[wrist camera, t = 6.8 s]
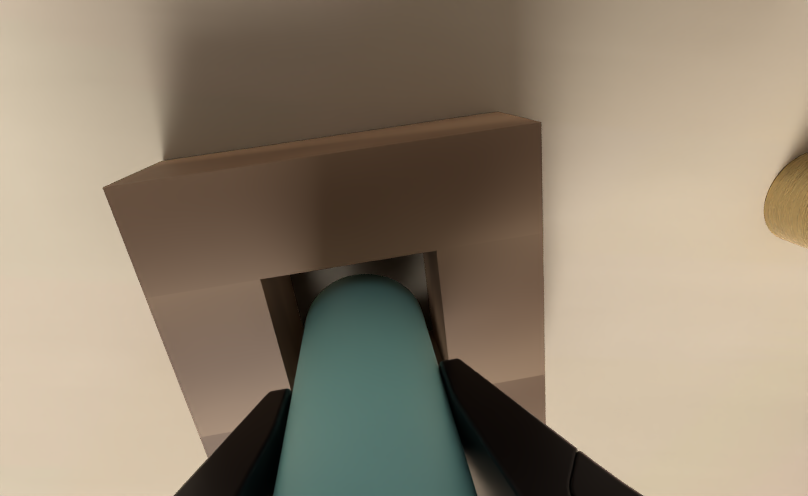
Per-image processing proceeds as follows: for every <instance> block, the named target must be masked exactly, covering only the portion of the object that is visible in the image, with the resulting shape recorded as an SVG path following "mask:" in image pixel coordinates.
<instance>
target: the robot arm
mask: <svg viewBox="0 0 808 496" xmlns="http://www.w3.org/2000/svg"><path fill="white" fill-rule="evenodd" d="M439 369H440V373H441V377H442V380H443V383H444V387H445V390H446V393H447V397H448V400H449V403H450V407H451V410H452V413H453V416H454V420H455V423H456V426H457V429H458V433H459V436H460V439H461V443H462V446H463V449H464V452H465V456H466V459H467V462H468V466H469V469H470V472H471V476H472V479H473V482H474V486H475V489H476V492H477V496H643V495H641V494H640V493H638V492H637V491H635V490H634V489H632V488H631V487H629V486H628V485H626V484H625V483H623V482H622V481H621V480H619V479H618V478H616V477H615V476H614V475H612V474H611V473H609V472H608V471H607V470H605V469H604V468H603V467H601V466H600V465H598V464H597V463H596V462H594V461H593V460H592V459H590V458H589V457H588V456H587V455H585V454H584V453H583V452H581V451H578V450H577V448H576V447H574V446H573V445H572V444H571V443H569V442H568V441H567V440H565V439H564V438H563V437H561V436H560V435H559V434H557V433H556V432H555V431H554V430H552V429H551V428H550V427H548V426H547V425H546V424H544V423H543V422H542V421H540V420H539V419H538V418H536V417H535V416H534V415H533V414H531V413H530V412H529V411H527V410H526V409H525V408H523V407H522V406H521V405H519V404H518V403H517V402H516V401H514V400H513V399H512V398H510V397H509V396H508V395H506V394H505V393H504V392H502V391H501V390H500V389H499V388H497V387H496V386H495V385H493V384H492V383H491V382H489V381H488V380H487V379H485V378H484V377H483V376H482V375H480V374H479V373H478V372H476V371H475V370H474V369H472V368H471V367H470V366H468V365H467V364H466V363H464V362H463V361H462V360H460V359H458V358H455V359H450V360H444V361H441V362H440V364H439ZM291 397H292V391H291V390H290V389H288V388H285V389H280V390H274V391H270V392H269V393H267V394H266V396H265V397H264V398H263V399H262V400H261V401H260V402H259V403H258V404H257V405H256V406H255V407H254V409H253V410H252V411H251V412H250V413H249V414H248V415H247V416H246V417H245V418H244V419H243V421H242V422H241V423H240V424H239V425H238V426H237V427H236V428H235V429H234V430H233V431H232V433H231V434H230V435H229V436H228V437H227V438H226V439H225V440H224V441H223V442H222V443H221V445H220V446H219V447H218V448H217V449H216V450H215V451H214V452H213V453H212V454H211V455H210V457H209V458H208V459H207V460H206V461H205V462H204V463H203V464H202V465H201V466H200V467H199V469H198V470H197V471H196V472H195V473H194V474H193V475H192V476H191V477H190V478H189V479H188V481H187V482H186V483H185V484H184V485H183V486H182V487H181V488H180V489H179V490H178V491H177V493H176V494H175V495H174V496H273V494H274V488H275V483H276V478H277V472H278V467H279V462H280V456H281V451H282V446H283V440H284V435H285V430H286V424H287V419H288V413H289V408H290V403H291Z"/></svg>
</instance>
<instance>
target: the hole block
mask: <svg viewBox="0 0 808 496" xmlns="http://www.w3.org/2000/svg"><path fill="white" fill-rule="evenodd" d="M103 190H104V192H105V195H106V197H107V200H108V203H109V205H110V208H111V210H112V213H113V215H114V218H115V221H116V223H117V226H118V228H119V231H120V233H121V236H122V238H123V241H124V244H125V246H126V249H127V251H128V254H129V256H130V259H131V262H132V264H133V267H134V269H135V272H136V274H137V277H138V280H139V282H140V285H141V287H142V290H143V292H144V295H145V297H146V300H147V303H148V305H149V308H150V310H151V313H152V315H153V318H154V321H155V323H156V326H157V328H158V331H159V333H160V336H161V339H162V341H163V344H164V346H165V349H166V351H167V354H168V356H169V359H170V362H171V364H172V367H173V369H174V372H175V374H176V377H177V380H178V382H179V385H180V387H181V390H182V392H183V395H184V398H185V400H186V403H187V405H188V408H189V410H190V413H191V415H192V418H193V421H194V423H195V426H196V428H197V431H198V433H199V436H200V439H201V441H202V444H203V446H204V449H205V451H206V454H207V457H208V458H209V457H210V455H211V454H212V453H213V452H214V451H215V450H216V449H217V448H218V447H219V446H220V445H221V443H222V442H223V441H224V440H225V439H226V438H227V437H228V436H229V435H230V434H231V433H232V431H233V430H234V429H235V428H236V427H237V426H238V425H239V424H240V423H241V422H242V421H243V419H244V418H245V417H246V416H247V415H248V414H249V413H250V412H251V411H252V410H253V409H254V407H255V406H256V405H257V404H258V403H259V402H260V401H261V400H262V399H263V398H264V397H265V396H266V394H267V393H269V392H270V391H274V390H280V389H285V388H288V389H290V390H291V391H292V392H293V387H294V381H295V376H296V371H297V365H298V360H299V355H300V349H301V344H302V339H303V333H304V330H303V326H302V322H301V318H300V314H299V310H298V306H297V302H296V298H295V294H294V290H293V286H292V282H291V278H290V274H296V273H302V272H309V271H315V270H321V269H327V268H333V267H339V266H345V265H351V264H357V263H364V262H370V261H376V260H382V259H388V258H394V257H400V256H406V255H412V254H418V253H423V258H424V266H425V274H426V282H427V290H428V298H429V306H430V314H431V323H432V331H428V333H429V336H430V340H431V343H432V346H433V350H434V353H435V356H436V360H437V363H438V366H439V364H440V362H441V361H444V360H450V359H455V358H458V359H460V360H462V361H463V362H464V363H466V364H467V365H468V366H470V367H471V368H472V369H474V370H475V371H476V372H478V373H479V374H480V375H482V376H483V377H484V378H485V379H487V380H488V381H489V382H491V383H492V384H493V385H495V386H496V387H497V388H499V389H500V390H501V391H502V392H504V393H505V394H506V395H508V396H509V397H510V398H512V399H513V400H514V401H516V402H517V403H518V404H519V405H521V406H522V407H523V408H525V409H526V410H527V411H529V412H530V413H531V414H533V415H534V416H535V417H536V418H538V419H539V420H540V421H542V422H543V423H544V424H546V418H545V348H544V278H543V209H542V139H541V122H539V121H534V120H530V119H526V118H522V117H518V116H514V115H509V114H505V113H501V112H492V113H485V114H478V115H471V116H465V117H458V118H451V119H444V120H437V121H431V122H424V123H417V124H410V125H403V126H396V127H390V128H383V129H376V130H369V131H362V132H356V133H349V134H342V135H335V136H328V137H322V138H315V139H308V140H301V141H294V142H288V143H281V144H274V145H267V146H260V147H254V148H247V149H240V150H233V151H226V152H220V153H213V154H206V155H199V156H192V157H185V158H179V159H172V160H165V161H161V162H158V163H156V164H154V165H152V166H150V167H147V168H145V169H143V170H141V171H138V172H136V173H134V174H132V175H130V176H127V177H125V178H123V179H121V180H118V181H116V182H114V183H112V184H110V185H107V186H105V187H103ZM439 370H440V369H439Z"/></svg>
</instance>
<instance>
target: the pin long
mask: <svg viewBox="0 0 808 496" xmlns="http://www.w3.org/2000/svg"><path fill="white" fill-rule="evenodd" d="M273 496H477V492H476V489H475V486H474V482H473V479H472V476H471V472H470V469H469V466H468V462H467V459H466V456H465V452H464V449H463V446H462V443H461V439H460V436H459V433H458V429H457V426H456V423H455V420H454V416H453V413H452V410H451V407H450V403H449V400H448V397H447V393H446V390H445V387H444V383H443V380H442V377H441V373H440V370H439V366H438V363H437V360H436V356H435V353H434V350H433V346H432V343H431V340H430V336H429V333H428V330H427V326H426V323H425V320H424V316H423V313H422V310H421V307H420V305H419V303H418V301H417V299H416V298H415V296H414V295H413V294H412V293H411V292H410V291H409V290H408V289H407V288H406V287H405V286H403V285H402V284H401V283H399V282H397V281H395V280H393V279H391V278H388V277H385V276H381V275H375V274H358V275H352V276H348V277H345V278H342V279H339V280H337V281H335V282H333V283H332V284H330V285H329V286H327V287H326V288H325V289H324V290H323V291H321V292H320V293H319V295H318V296H317V297H316V298H315V300H314V301H313V303H312V304H311V306H310V308H309V311H308V314H307V317H306V323H305V328H304V333H303V339H302V344H301V349H300V355H299V360H298V365H297V371H296V376H295V381H294V387H293V392H292V397H291V403H290V408H289V413H288V419H287V424H286V430H285V435H284V440H283V446H282V451H281V456H280V462H279V467H278V472H277V478H276V483H275V488H274V494H273Z"/></svg>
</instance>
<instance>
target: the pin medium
mask: <svg viewBox="0 0 808 496" xmlns="http://www.w3.org/2000/svg"><path fill="white" fill-rule="evenodd" d="M764 217H765V221H766V224H767V226H768V228H769V230H770V231H771V232H772V233H773V234H774V235H775V236H777V237H779V238H781V239H784V240H786V241H789V242H792V243H794V244H797V245H800V246H802V247H805V248H808V153H805V154H803V155H801V156H800V157H798V158H796V159H795V160H793V161H792V162H791V163H789V164H788V165H787V166H786V167H785V168H784V169H783V170H782V171H781V172H780V174H779V175H778V176H777V177H776V179H775V180H774V182H773V184H772V185H771V187H770V189H769V191H768V194H767V197H766V200H765V206H764Z"/></svg>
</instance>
